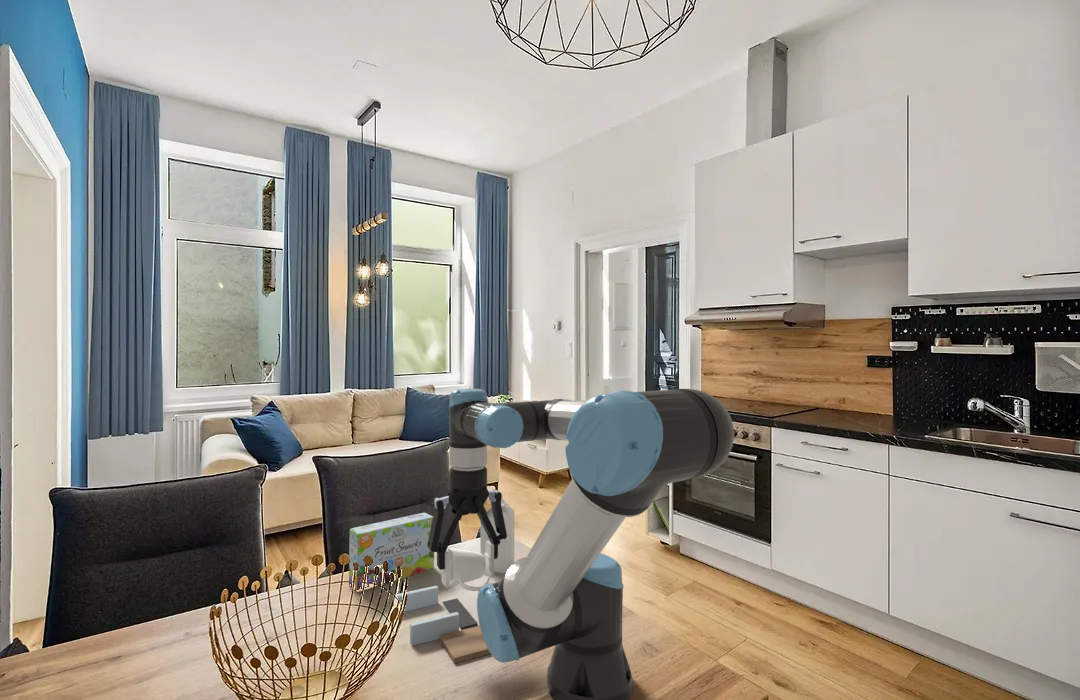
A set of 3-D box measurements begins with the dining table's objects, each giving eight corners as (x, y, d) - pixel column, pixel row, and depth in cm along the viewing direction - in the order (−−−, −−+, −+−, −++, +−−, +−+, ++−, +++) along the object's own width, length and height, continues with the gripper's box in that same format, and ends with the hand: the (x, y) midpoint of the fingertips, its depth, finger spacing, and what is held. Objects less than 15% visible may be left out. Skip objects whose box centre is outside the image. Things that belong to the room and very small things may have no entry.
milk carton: (480, 572, 143) (480, 500, 143) (490, 562, 150) (490, 494, 150) (505, 575, 141) (505, 503, 141) (514, 565, 148) (514, 496, 148)
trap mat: (477, 625, 116) (477, 623, 116) (461, 629, 114) (461, 627, 114) (457, 600, 127) (457, 598, 127) (442, 603, 125) (442, 601, 125)
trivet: (497, 651, 106) (497, 646, 106) (454, 663, 102) (454, 658, 102) (480, 629, 114) (480, 625, 114) (439, 640, 110) (439, 635, 110)
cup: (485, 539, 112) (448, 540, 108) (501, 573, 103) (462, 575, 100) (477, 566, 114) (440, 569, 110) (492, 602, 105) (453, 606, 101)
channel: (459, 633, 112) (459, 614, 112) (411, 645, 108) (411, 626, 108) (436, 602, 126) (436, 585, 126) (393, 612, 121) (393, 594, 121)
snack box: (357, 596, 129) (357, 533, 129) (348, 588, 133) (348, 527, 133) (435, 572, 143) (435, 515, 143) (424, 565, 148) (424, 510, 147)
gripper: (509, 458, 116) (508, 562, 116) (410, 468, 106) (409, 583, 106) (524, 464, 109) (524, 576, 109) (420, 476, 99) (420, 599, 99)
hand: (468, 579), depth 108 cm, fingers closed on cup, 9 cm apart
